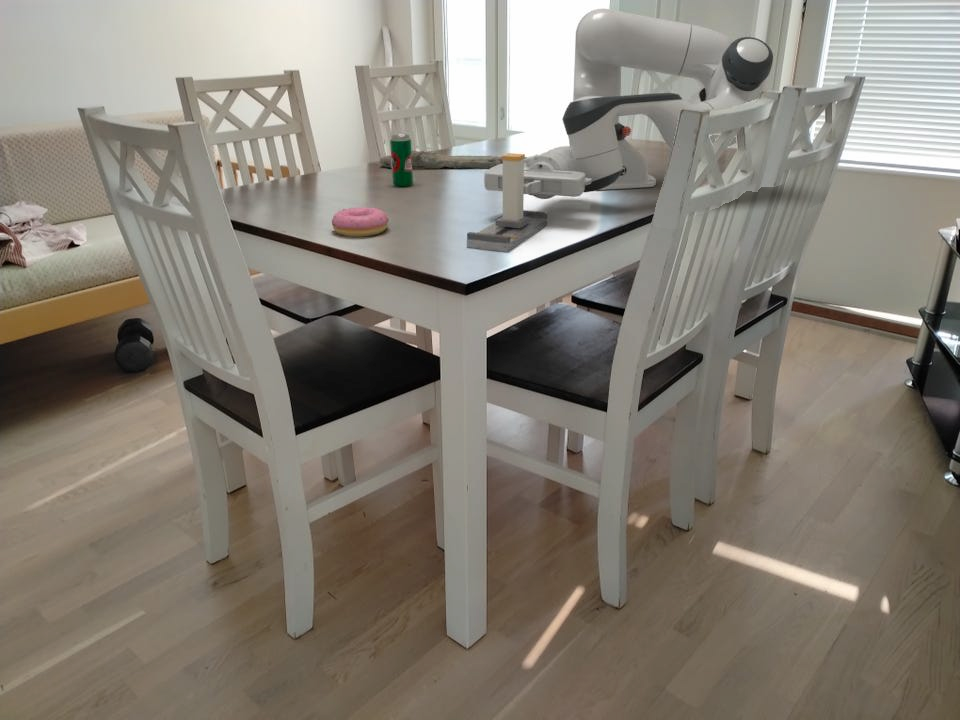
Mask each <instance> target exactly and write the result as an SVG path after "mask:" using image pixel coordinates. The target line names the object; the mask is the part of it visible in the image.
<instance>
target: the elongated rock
mask: <svg viewBox="0 0 960 720" xmlns="http://www.w3.org/2000/svg"><path fill="white" fill-rule="evenodd" d="M379 164H380V165H381V166H383V167H385V168H392V163H391V155H385V156H381V157H380V158H379ZM499 164H503V160H502V156H495V155H494V156H493V155H446V154H441V153H440V154H439V153H438V152H436V151H435V150H428V151H425V150H419V151H417V150H412V168H413V170H427V169H431V170H435V169H442V168H452V169H455V170H456V169H460V168H461V169H462V168H463V169H471V170H474V169H476V170H479V169H480V170H488V169H490V168H492V167H494V166H496V165H499Z"/></svg>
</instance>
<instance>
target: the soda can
mask: <svg viewBox="0 0 960 720" xmlns="http://www.w3.org/2000/svg"><path fill="white" fill-rule="evenodd" d="M390 137H391V138H390V140H389V143H390V144H389V146H390V156H391V163H392V167H391V175H392V176H391V180H392V184H393V186H394V187H397V188H409V187H412V185H413V184H414V176H413V175H414V174H413V173H414V172H413V170H414V169H413V168H412V151H413V150H412V139H411V138H410V135H409V134H405V133H404V134H403V133H401V134H392V135H391V136H390Z"/></svg>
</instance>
